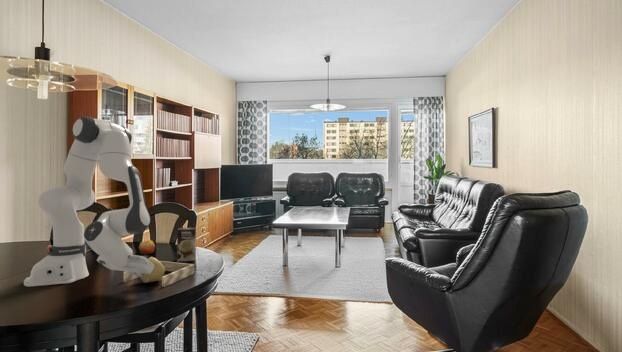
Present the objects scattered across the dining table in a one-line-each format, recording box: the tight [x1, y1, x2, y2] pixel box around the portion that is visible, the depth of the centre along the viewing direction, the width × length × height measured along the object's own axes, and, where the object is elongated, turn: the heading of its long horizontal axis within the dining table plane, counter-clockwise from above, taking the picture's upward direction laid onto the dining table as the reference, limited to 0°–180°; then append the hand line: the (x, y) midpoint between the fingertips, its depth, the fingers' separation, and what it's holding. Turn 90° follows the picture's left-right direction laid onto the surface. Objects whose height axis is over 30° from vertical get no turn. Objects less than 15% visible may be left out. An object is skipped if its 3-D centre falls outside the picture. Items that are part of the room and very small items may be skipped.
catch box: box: [123, 260, 196, 288], centre depth 157 cm, size 20×20×4 cm
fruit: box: [138, 239, 156, 255], centre depth 201 cm, size 8×8×8 cm
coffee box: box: [176, 227, 197, 262], centre depth 187 cm, size 9×6×16 cm
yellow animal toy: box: [139, 256, 166, 284], centre depth 151 cm, size 10×12×11 cm
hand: (138, 274), depth 145 cm, fingers closed, pressing on yellow animal toy
